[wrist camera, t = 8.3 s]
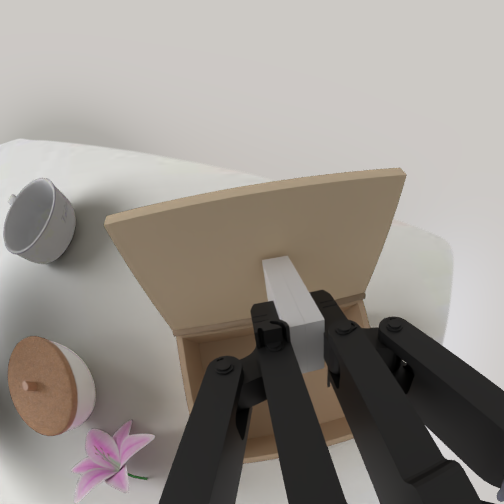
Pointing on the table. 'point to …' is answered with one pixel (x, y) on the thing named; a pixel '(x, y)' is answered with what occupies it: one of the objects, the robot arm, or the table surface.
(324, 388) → the mailer box
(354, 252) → the lid
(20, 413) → the lidded jar
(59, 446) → the table surface
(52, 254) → the teacup
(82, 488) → the lily
